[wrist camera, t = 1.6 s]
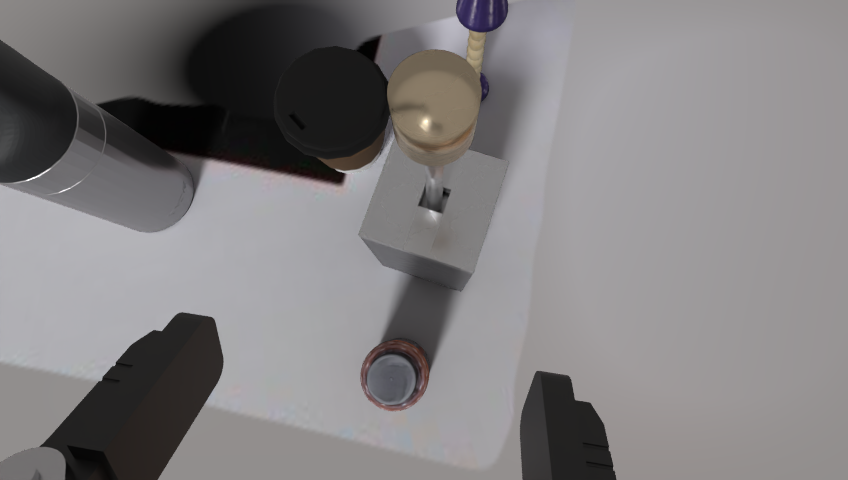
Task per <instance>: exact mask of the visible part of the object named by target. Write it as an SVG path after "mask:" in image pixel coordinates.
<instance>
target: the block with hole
mask: <svg viewBox="0 0 848 480" xmlns="http://www.w3.org/2000/svg"><path fill="white" fill-rule="evenodd" d="M508 164H509V162H508V161H505V160H502V159H498V158H495V157H492V156H489V155H485V154H482V153H479V152H476V151H472V150H469V149H468V150H467V151H466V153H465V154H464V155H463V156H461V157H460V158H459V159H457V160H456V161H454V162H452V163H449V164H447V165H444V181H443V191H444V192H447V193H450V195H449V198H448V201H447V204H446V207H445V210H444V213H443V214H442V213H439V212H435V211H432V210H429V209H426V208H423V207H420V203H421V200H422V197H423V195H424V192H425V189H426V179H425V165H422V164H419V163H416V162H415V161H413V160H411V159H410V158H408V157H407V156H406V155H405V154H404V153H403V152H402V150H401V149H400V147H399V146H398V144H397V141H396V138H394V140H393V143H392V146H391V148H390V151H389V154H388V156H387V159H386V162H385V165H384V167H383V170H382V173H381V175H380V178H379V181H378V183H377V186H376V189H375V191H374V194H373V197H372V199H371V202H370V205H369V207H368V210H367V213H366V215H365V218H364V221H363V223H362V226H361V229H360V231H359V234H358V235H359V236H360V237H361V239H362V240H363V241H364V242H365V244H366V245H367V246H368V247H369V249H370V250H371V251H372V253H373V254H374V255H375V256H376V258H377V259H378V260H379V261H380V263H381V264H382V265H383V266H386V267H389V268H392V269H395V270H398V271H401V272H404V273H407V274H410V275H413V276H416V277H419V278H422V279H425V280H428V281H431V282H434V283H437V284H440V285H443V286H446V287H449V288H452V289H455V290H458V291H462V290H463V288H464V287H465V285H466V284H467V282H468V281H469V279H470V277H471V276H472V274H473V273H474V270H475V267H476V264H477V261H478V257H479V254H480V251H481V248H482V245H483V242H484V239H485V235H486V232H487V229H488V226H489V223H490V220H491V217H492V214H493V210H494V207H495V204H496V201H497V198H498V195H499V192H500V189H501V185H502V182H503V179H504V176H505V173H506V170H507V167H508Z"/></svg>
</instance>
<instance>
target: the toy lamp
mask: <svg viewBox="0 0 848 480" xmlns="http://www.w3.org/2000/svg"><path fill="white" fill-rule="evenodd" d="M507 13H508V1H507V0H458V1H457V6H456V14H457V17H458V19H459V21H460V23H461V24H462V25H463V26H464V27H466V28H467V29H469V34H470V35H469V38H468V47H467V57H466V61H467V62H468V63H469V64H470V65H471V66H472V67H473V68H474V70H475V71H476V73H477V75H478V77H479V80H480V83H481V88H482V96H481V101H483V99H484V98H485V97H486V96H487V94H488V91H489V85H488V81H487V79H486V77H485V76H484V75H483V74H482V73H481V69H482V65H481V64H482V62H483V53H484V44H485V41H486V36H485V35H486V33H487V32H490V31H493V30H495V29H497V28H498V27H499V26H501V24H502V23H503V22H504V20H505V19H506V16H507Z"/></svg>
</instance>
